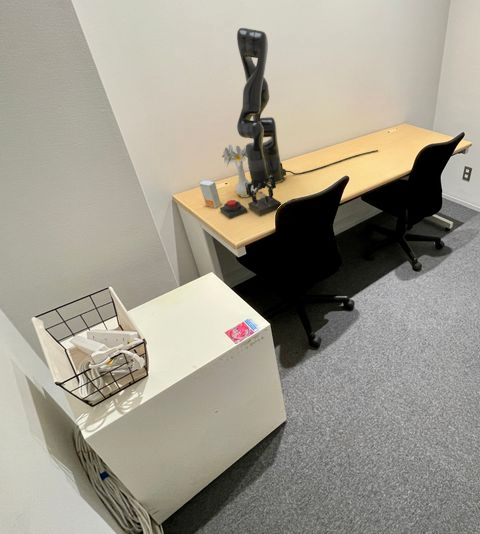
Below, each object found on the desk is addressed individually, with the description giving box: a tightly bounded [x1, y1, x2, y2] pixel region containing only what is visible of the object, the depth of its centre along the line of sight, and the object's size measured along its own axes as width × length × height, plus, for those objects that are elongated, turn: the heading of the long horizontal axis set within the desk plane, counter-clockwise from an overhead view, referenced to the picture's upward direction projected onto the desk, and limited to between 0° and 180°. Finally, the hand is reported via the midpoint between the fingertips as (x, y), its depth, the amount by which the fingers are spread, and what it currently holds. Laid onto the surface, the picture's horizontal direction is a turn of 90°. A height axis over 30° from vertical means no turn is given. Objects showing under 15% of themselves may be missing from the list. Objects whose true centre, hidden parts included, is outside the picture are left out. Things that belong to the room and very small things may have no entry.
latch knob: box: [258, 191, 269, 205], centre depth 156 cm, size 6×2×5 cm, turn 44°
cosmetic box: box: [198, 179, 222, 209], centre depth 158 cm, size 6×4×12 cm
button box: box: [219, 200, 248, 220], centre depth 155 cm, size 9×9×4 cm
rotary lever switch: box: [247, 195, 282, 217], centre depth 159 cm, size 12×10×3 cm
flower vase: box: [221, 143, 253, 198], centre depth 163 cm, size 13×18×25 cm
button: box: [226, 199, 237, 207], centre depth 154 cm, size 4×4×2 cm
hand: (263, 199), depth 157 cm, fingers open, 8 cm apart
